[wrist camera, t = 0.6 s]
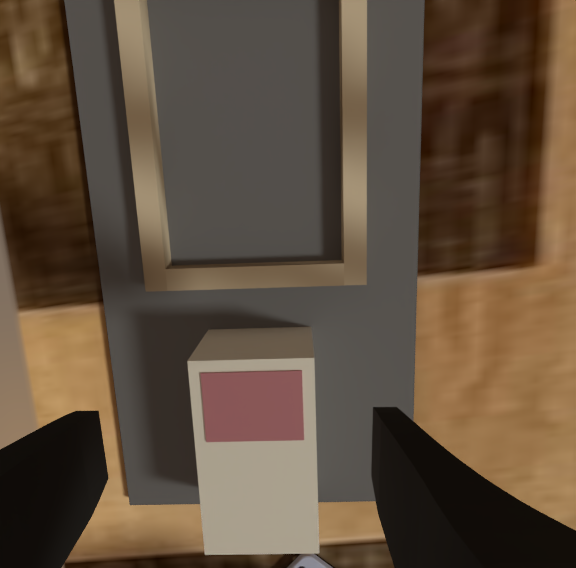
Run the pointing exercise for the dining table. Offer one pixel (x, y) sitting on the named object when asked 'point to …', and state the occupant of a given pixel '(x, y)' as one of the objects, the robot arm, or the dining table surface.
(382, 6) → the mat
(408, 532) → the robot arm
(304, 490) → the card box
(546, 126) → the dining table surface
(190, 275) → the frame
